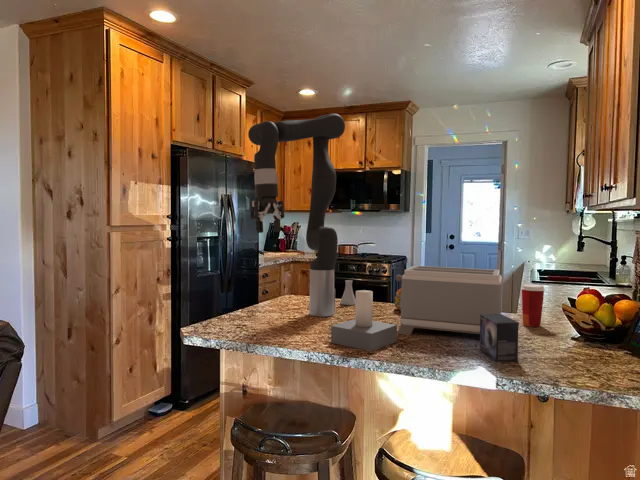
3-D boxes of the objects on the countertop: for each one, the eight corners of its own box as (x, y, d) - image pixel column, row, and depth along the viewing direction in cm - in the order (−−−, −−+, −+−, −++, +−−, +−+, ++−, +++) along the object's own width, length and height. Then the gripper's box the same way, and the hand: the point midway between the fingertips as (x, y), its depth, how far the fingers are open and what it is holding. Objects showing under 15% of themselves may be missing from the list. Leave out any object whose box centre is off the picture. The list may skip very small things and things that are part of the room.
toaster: (400, 321, 170) (401, 264, 169) (502, 330, 158) (504, 269, 157) (387, 332, 152) (389, 269, 152) (501, 344, 140) (503, 276, 139)
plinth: (357, 333, 150) (357, 318, 150) (396, 341, 141) (396, 324, 141) (330, 342, 139) (331, 325, 139) (371, 351, 130) (371, 333, 130)
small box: (477, 350, 133) (478, 313, 132) (500, 350, 133) (501, 313, 133) (494, 362, 122) (496, 322, 122) (518, 361, 123) (520, 321, 122)
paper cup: (546, 325, 166) (548, 285, 165) (539, 328, 160) (540, 287, 160) (523, 321, 171) (525, 283, 171) (515, 325, 166) (517, 285, 165)
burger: (422, 315, 180) (423, 289, 179) (388, 311, 187) (389, 286, 186) (432, 310, 192) (433, 285, 191) (400, 306, 198) (401, 282, 198)
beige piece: (360, 322, 143) (361, 289, 143) (375, 324, 140) (375, 291, 140) (352, 325, 139) (352, 291, 139) (367, 327, 136) (367, 292, 136)
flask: (355, 306, 198) (356, 282, 197) (338, 305, 199) (338, 281, 199) (357, 303, 205) (358, 280, 204) (341, 302, 206) (341, 279, 206)
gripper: (260, 181, 149) (262, 233, 150) (288, 183, 161) (291, 230, 162) (242, 183, 154) (245, 233, 154) (271, 184, 165) (274, 231, 166)
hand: (268, 232), depth 158 cm, fingers open, 8 cm apart
